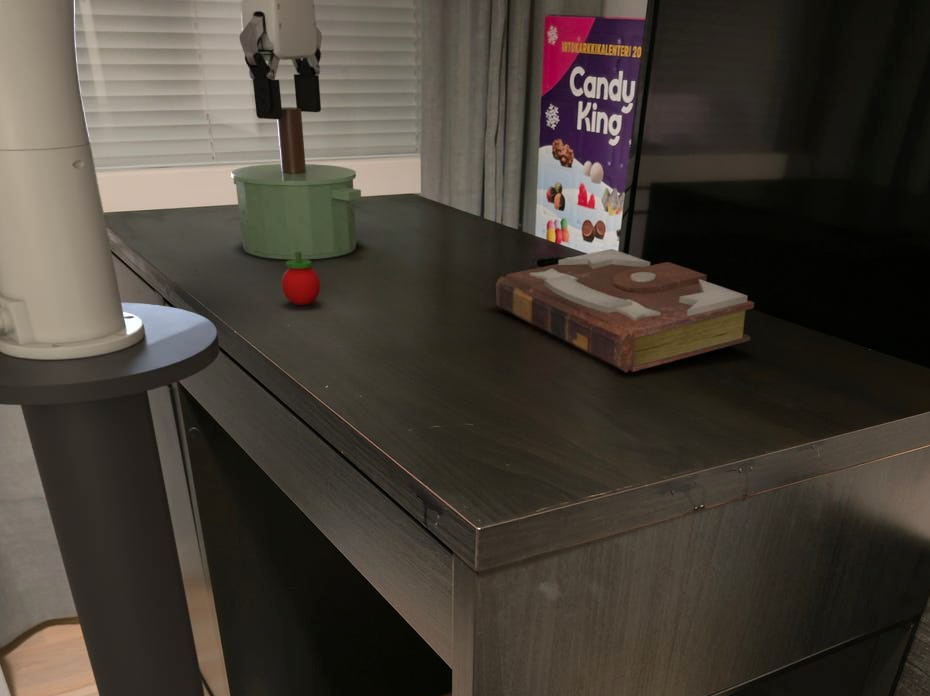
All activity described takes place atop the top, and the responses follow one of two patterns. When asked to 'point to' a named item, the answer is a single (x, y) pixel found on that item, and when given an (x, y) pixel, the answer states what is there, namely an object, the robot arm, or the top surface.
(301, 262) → the tomato
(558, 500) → the top surface
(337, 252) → the pot
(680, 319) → the book
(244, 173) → the lid
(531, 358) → the top surface
